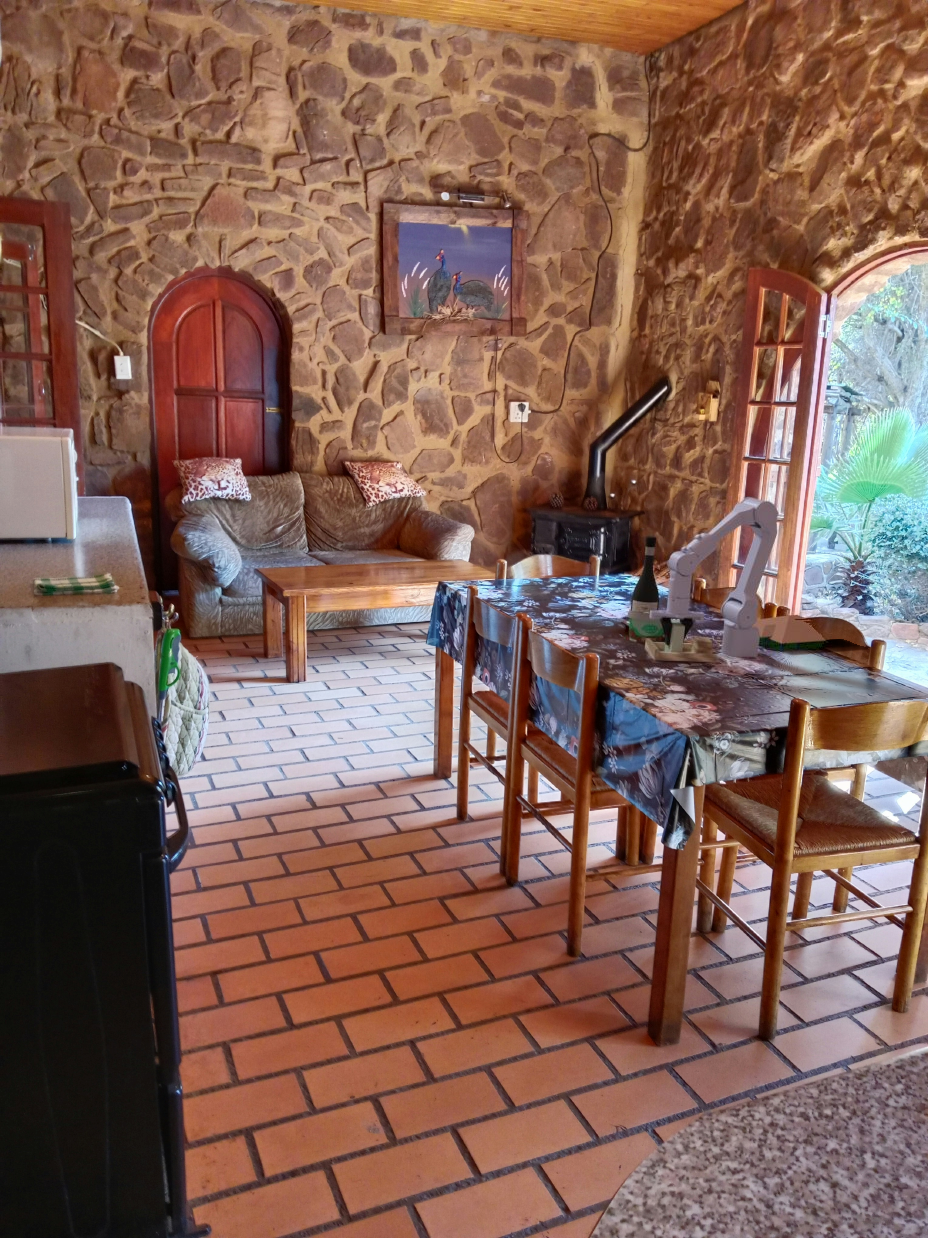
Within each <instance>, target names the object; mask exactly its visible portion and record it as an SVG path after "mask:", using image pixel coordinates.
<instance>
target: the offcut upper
mask: <svg viewBox="0 0 928 1238" xmlns="http://www.w3.org/2000/svg"><path fill="white" fill-rule="evenodd" d="M693 643H694V645H695V646H696V647H697V648H698V649H699V650H713V641H712V640H711V639H710V638H709V637H708V636H694V638H693Z"/></svg>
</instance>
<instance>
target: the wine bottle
mask: <svg viewBox="0 0 928 1238" xmlns="http://www.w3.org/2000/svg"><path fill="white" fill-rule="evenodd" d="M656 543H657V536H652V535H648V536H645V552H644V562H643V567H642V568H643V569H642V572H641V575H640V576H639V578H638V580H637V583H636V585H635V587H634V589H633V592H632V594H631V595H632V596H631V602H630V603H631V604H630V610H632V611H636V612H643V611H650V610H659V606H660V605H659V604H660V594H659V588H658V585H657V581H656V578H655V574H654V573H655V572H654V561H655V560H654V559H655V552H656V551H655V550H656Z"/></svg>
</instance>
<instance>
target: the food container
mask: <svg viewBox="0 0 928 1238" xmlns="http://www.w3.org/2000/svg"><path fill="white" fill-rule="evenodd" d="M664 610H667V608H665V609H664ZM626 616H627V617H628V618H629V619H628V621H629V622H628V624H629V626H628V637H629V638H628V639H629V641H632V642H634V643H638V644H644V645H645V642H646V638H649V639H650V640H651V641H652V642H663V641H662V640H663V636H664V631H663V627H662V624H661V622H660V619H657V618H655V619H651V618H650V611H643V612H636V611H632V610H631V608H630V609H629V610H628V611H627V615H626Z"/></svg>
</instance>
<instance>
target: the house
mask: <svg viewBox="0 0 928 1238" xmlns="http://www.w3.org/2000/svg"><path fill="white" fill-rule="evenodd" d="M795 619H807V618H806V617H803V616H801V615H799V614H789V615H780V616H776V617H775V616H774V617H767V618H762V619H757V620H756V622H755V624H754V625H753V626H756V627H757V628H758V630H759V644H761V646H762V647H763V648H765V645H767V647H768V646H769V648H774V647H777V648H776V651H779V650H780V652H782V651H783V650H784V651H785V649H786V648H787V650H789V651H792V650H793V651H794V650H795V649H796V650H797V649H798V648H799V649H800V648H801V647H800V645H801V646H803V648H805V649H808V648H809V649H810V647H814V648H817V647H818V648H819V647H820V648H821V645H819V644H817V643H814V642H819V643H821V644H824V641H825V642H827V641H826V640H825V639H824V638H823V637H822V635H821V634H819V633H818V632H817V631H816V630H815V629H814V628H813V627H812V625H809V624H810V623H806V622H804V621H812V620H810V619H808V620H795ZM767 639H768V640H767ZM812 642H813V643H812ZM777 643H778V644H777ZM785 643H786V644H785ZM801 643H802V644H801ZM806 643H808V644H806ZM805 644H806V645H805ZM775 645H776V646H775ZM777 645H778V646H777ZM784 645H785V646H784ZM792 646H794V649H793V648H792ZM807 647H808V648H807ZM789 648H790V649H789ZM791 648H792V650H791ZM782 649H783V650H782ZM799 649H798V650H799ZM800 650H801V649H800Z"/></svg>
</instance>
